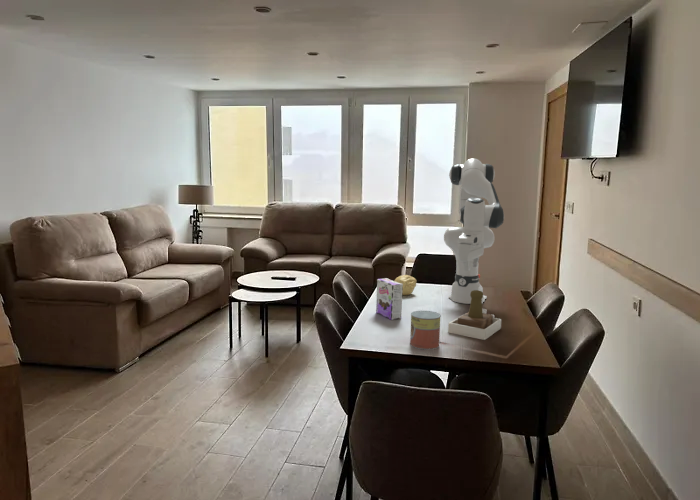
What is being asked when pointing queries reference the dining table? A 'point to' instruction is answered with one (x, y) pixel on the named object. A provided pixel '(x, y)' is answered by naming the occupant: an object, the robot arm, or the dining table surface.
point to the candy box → (389, 298)
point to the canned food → (425, 330)
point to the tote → (474, 329)
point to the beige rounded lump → (406, 284)
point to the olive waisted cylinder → (476, 304)
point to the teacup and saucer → (486, 311)
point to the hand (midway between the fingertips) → (471, 268)
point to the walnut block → (476, 321)
